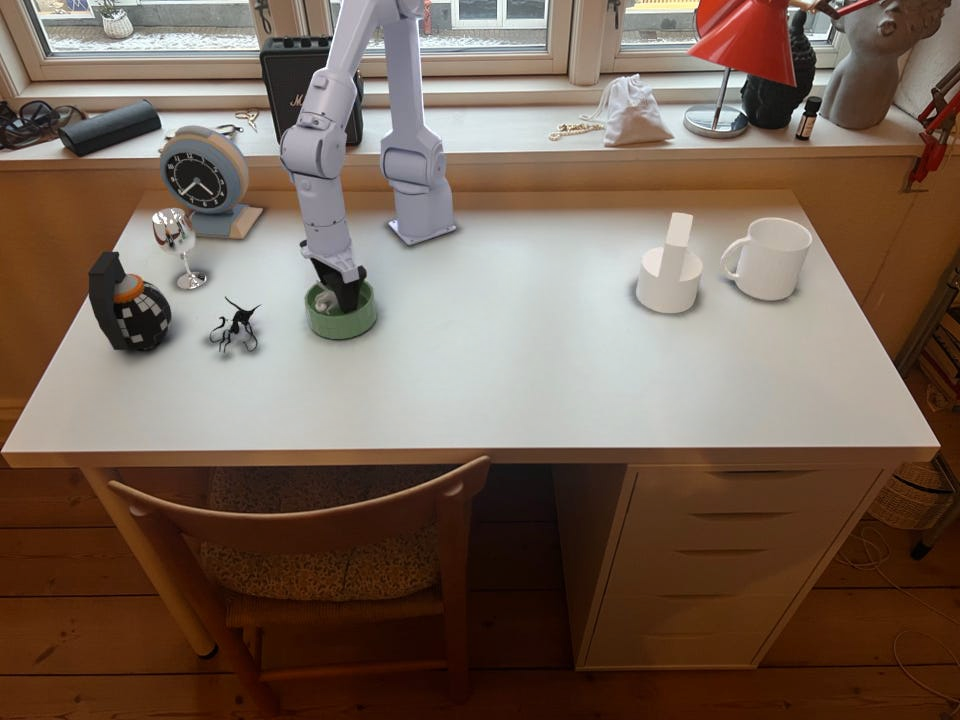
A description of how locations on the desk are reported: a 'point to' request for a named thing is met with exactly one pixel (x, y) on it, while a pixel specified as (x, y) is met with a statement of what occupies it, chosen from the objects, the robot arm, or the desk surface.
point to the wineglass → (177, 241)
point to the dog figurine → (326, 300)
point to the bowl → (341, 314)
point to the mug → (769, 258)
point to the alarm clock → (209, 181)
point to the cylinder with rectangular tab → (670, 271)
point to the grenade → (127, 306)
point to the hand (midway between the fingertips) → (339, 296)
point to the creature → (238, 317)
